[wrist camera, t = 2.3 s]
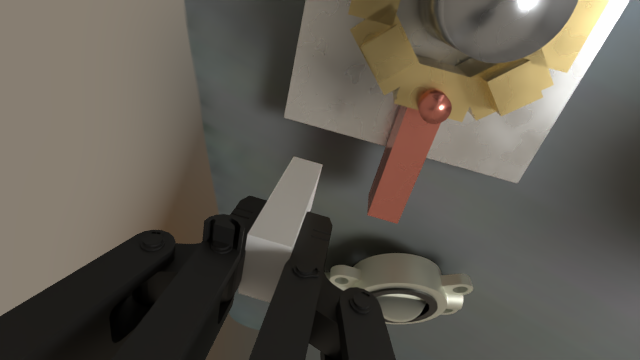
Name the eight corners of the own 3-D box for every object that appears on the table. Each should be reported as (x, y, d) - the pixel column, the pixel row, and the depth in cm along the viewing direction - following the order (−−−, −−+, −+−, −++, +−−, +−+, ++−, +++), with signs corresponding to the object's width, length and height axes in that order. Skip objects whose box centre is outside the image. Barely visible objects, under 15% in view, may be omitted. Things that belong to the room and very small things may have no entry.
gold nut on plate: (361, -250, 18) (331, -638, 7) (700, -169, 17) (1227, -460, 6) (291, 108, 27) (235, 172, 17) (506, 169, 27) (588, 273, 16)
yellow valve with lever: (395, -153, 17) (400, -215, 12) (618, -97, 17) (714, -139, 12) (312, 176, 27) (297, 212, 22) (453, 216, 26) (469, 262, 21)
